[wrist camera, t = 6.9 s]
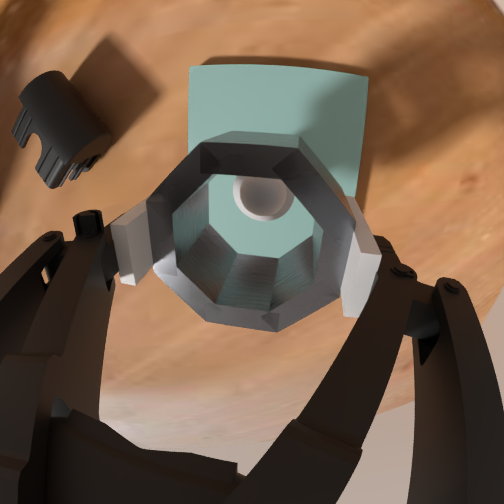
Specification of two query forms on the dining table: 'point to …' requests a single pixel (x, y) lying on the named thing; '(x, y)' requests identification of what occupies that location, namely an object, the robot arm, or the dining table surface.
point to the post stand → (282, 122)
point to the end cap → (60, 128)
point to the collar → (243, 265)
